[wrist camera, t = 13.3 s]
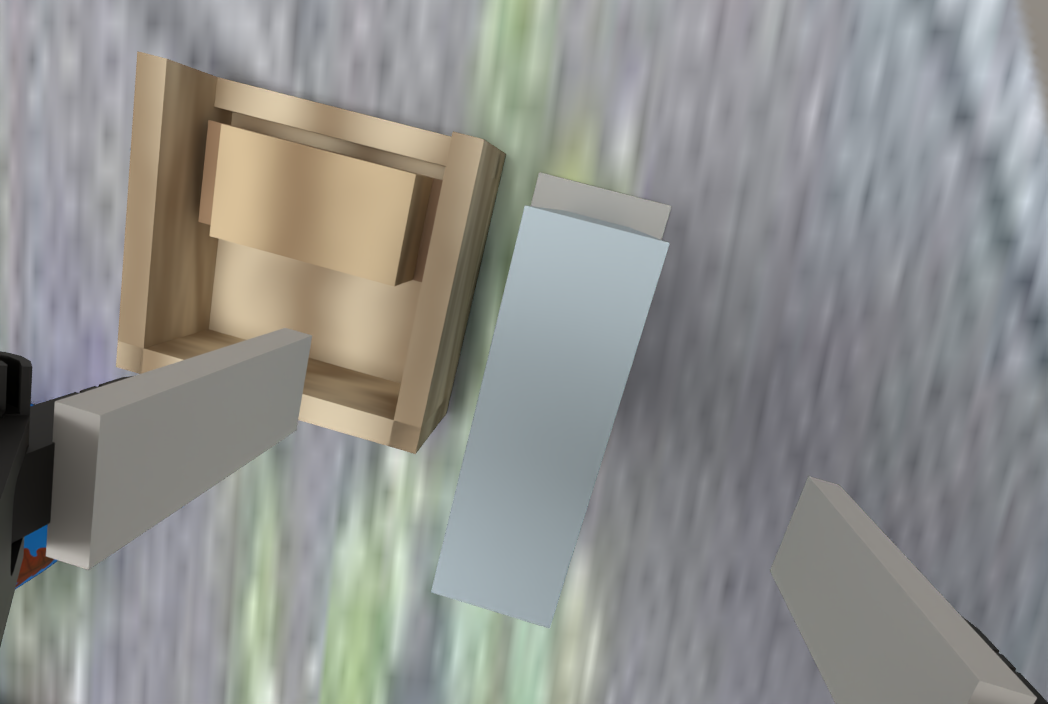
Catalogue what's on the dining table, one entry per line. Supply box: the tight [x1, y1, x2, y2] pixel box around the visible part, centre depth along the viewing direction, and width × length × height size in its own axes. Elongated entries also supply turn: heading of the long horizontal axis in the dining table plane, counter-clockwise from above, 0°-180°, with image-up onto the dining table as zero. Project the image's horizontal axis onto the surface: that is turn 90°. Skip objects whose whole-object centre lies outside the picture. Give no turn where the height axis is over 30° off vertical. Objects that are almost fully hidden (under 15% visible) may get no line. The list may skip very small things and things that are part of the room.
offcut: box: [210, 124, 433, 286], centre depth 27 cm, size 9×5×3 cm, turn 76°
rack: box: [116, 51, 506, 454], centre depth 30 cm, size 16×15×6 cm
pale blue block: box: [431, 205, 670, 628], centre depth 23 cm, size 11×4×17 cm, turn 166°
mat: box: [531, 172, 672, 239], centre depth 32 cm, size 7×14×1 cm, turn 166°
